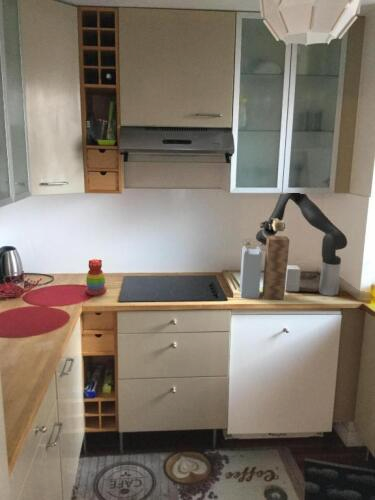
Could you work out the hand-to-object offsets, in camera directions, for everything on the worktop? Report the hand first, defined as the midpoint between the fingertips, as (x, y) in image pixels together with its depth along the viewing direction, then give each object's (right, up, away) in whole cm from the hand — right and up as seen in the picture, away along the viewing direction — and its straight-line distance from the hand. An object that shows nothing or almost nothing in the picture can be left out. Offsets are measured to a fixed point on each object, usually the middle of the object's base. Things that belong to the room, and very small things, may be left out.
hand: (276, 220), depth 222 cm
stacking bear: (-93, -37, +4) cm, 100 cm away
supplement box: (+11, -37, +15) cm, 41 cm away
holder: (-13, -38, +6) cm, 41 cm away
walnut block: (-1, -40, +3) cm, 40 cm away
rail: (0, -4, -2) cm, 4 cm away
